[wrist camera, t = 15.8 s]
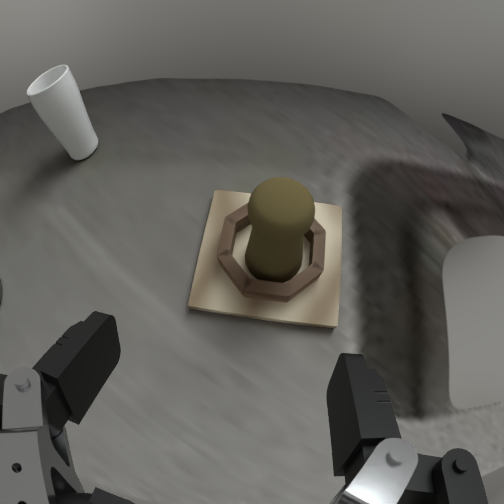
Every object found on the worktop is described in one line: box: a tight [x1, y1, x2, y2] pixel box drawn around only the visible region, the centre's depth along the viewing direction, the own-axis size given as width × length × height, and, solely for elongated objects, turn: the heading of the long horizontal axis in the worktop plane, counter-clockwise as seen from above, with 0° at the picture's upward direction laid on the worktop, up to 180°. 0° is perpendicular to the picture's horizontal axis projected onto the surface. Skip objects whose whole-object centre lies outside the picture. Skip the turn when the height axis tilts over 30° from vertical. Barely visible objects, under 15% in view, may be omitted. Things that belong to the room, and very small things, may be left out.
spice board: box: [188, 190, 342, 328], centre depth 31 cm, size 15×14×4 cm
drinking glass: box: [27, 65, 98, 160], centre depth 33 cm, size 7×7×15 cm
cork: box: [245, 177, 315, 283], centre depth 26 cm, size 6×6×11 cm
